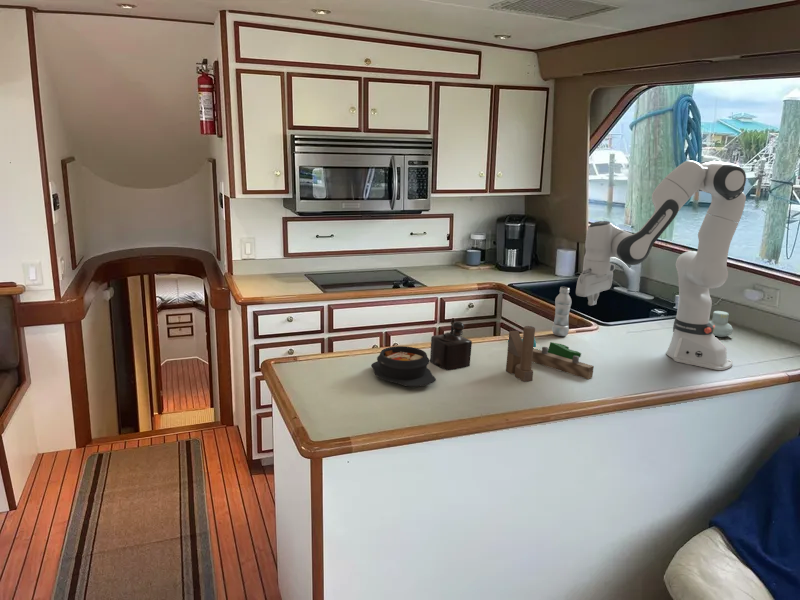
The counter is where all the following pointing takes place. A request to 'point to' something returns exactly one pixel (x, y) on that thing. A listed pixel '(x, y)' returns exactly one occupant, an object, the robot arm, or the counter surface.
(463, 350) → the coffee grinder
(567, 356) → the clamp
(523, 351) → the wooden letter n
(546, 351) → the bar
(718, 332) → the air freshener
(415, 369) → the casserole
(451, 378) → the counter surface
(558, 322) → the plastic bottle
